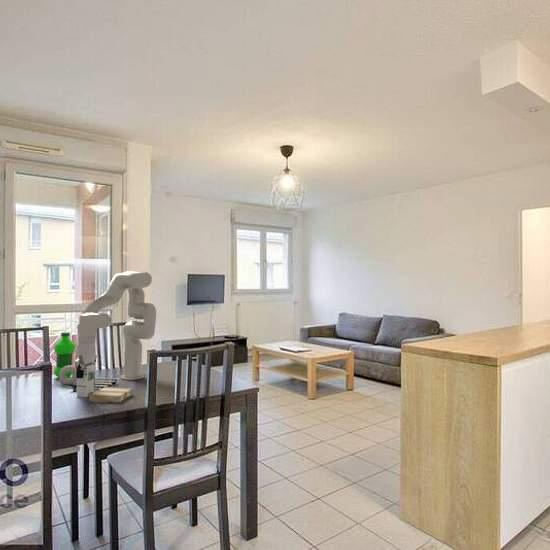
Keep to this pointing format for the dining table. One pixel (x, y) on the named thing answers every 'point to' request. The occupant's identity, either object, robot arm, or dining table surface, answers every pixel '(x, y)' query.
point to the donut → (64, 378)
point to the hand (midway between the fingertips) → (85, 376)
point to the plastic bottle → (64, 353)
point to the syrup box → (86, 381)
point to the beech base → (110, 394)
